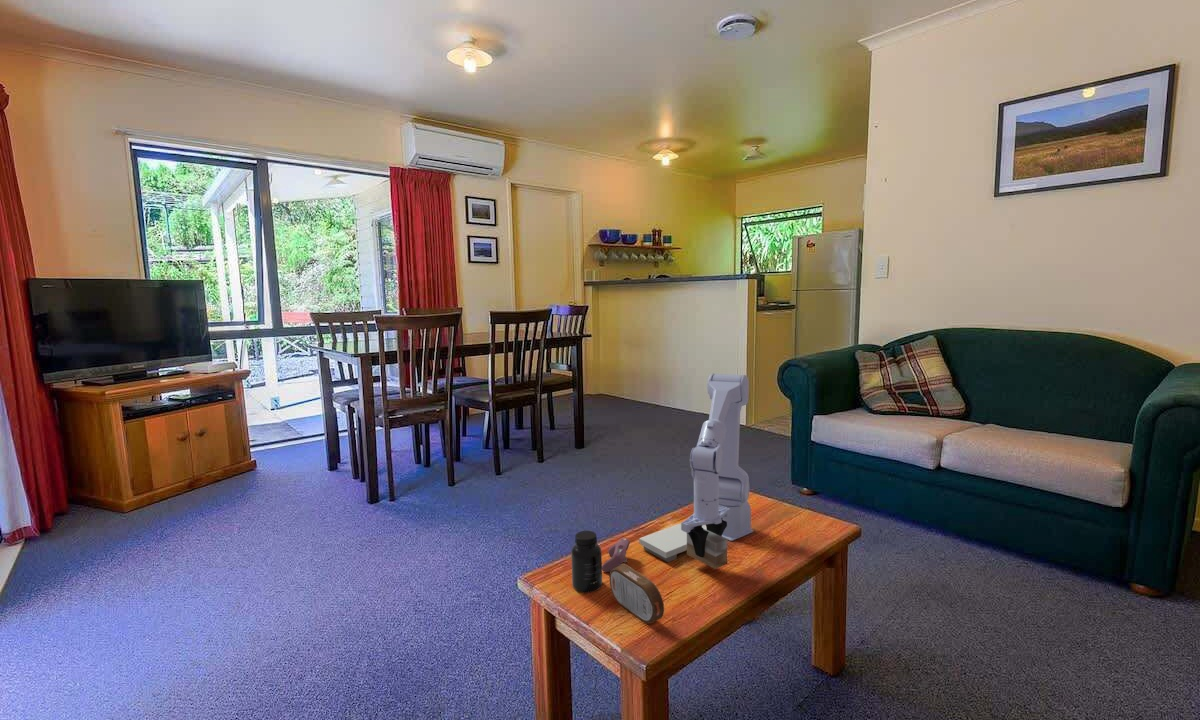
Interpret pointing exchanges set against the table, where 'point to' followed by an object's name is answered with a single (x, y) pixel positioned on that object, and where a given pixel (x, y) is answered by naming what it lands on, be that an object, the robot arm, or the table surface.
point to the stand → (666, 542)
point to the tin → (636, 593)
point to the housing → (711, 550)
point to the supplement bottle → (586, 562)
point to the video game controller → (616, 555)
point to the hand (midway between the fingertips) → (706, 552)
